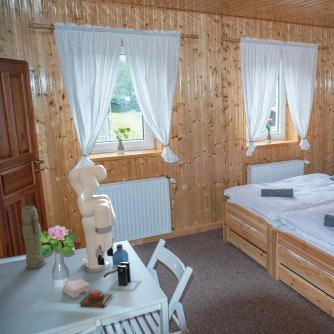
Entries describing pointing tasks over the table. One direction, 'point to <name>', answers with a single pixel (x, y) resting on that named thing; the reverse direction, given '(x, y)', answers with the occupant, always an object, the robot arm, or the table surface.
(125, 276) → the tap bracket
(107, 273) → the lever
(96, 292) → the button
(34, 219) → the stone head statue
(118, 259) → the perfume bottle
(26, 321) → the table surface
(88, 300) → the button block
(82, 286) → the pale pink block
